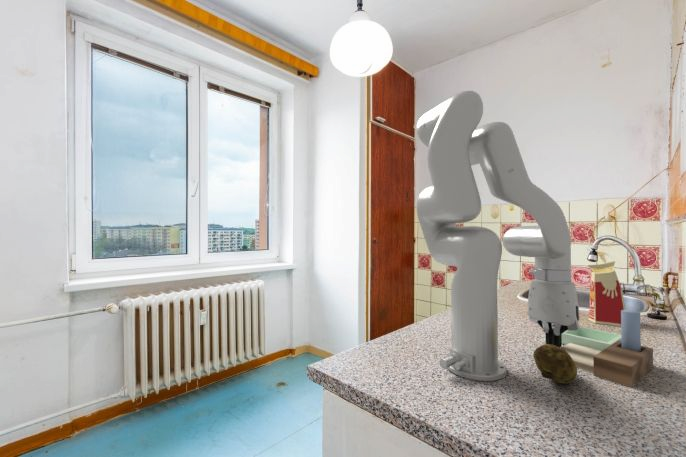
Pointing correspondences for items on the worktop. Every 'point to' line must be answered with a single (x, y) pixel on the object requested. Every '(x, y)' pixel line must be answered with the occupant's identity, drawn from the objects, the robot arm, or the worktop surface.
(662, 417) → the worktop surface
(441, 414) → the worktop surface
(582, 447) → the worktop surface
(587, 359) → the cream curved slab
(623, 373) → the block
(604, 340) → the tray
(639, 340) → the dowel
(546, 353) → the potato
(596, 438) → the worktop surface
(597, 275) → the milk carton
